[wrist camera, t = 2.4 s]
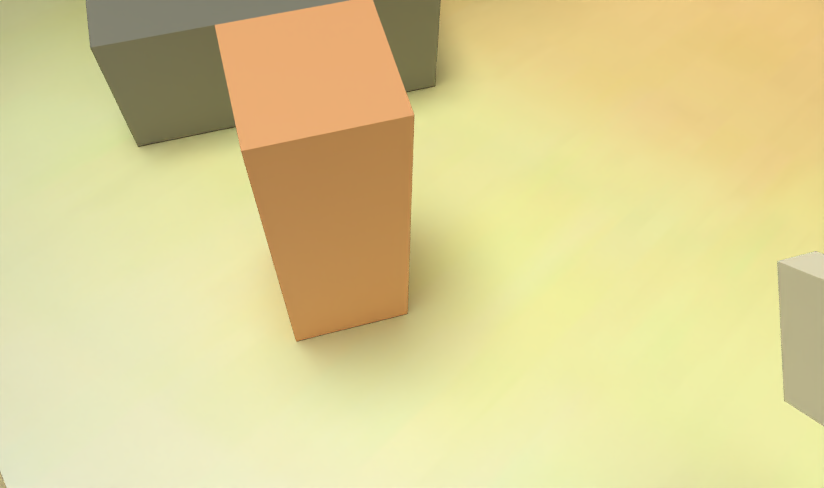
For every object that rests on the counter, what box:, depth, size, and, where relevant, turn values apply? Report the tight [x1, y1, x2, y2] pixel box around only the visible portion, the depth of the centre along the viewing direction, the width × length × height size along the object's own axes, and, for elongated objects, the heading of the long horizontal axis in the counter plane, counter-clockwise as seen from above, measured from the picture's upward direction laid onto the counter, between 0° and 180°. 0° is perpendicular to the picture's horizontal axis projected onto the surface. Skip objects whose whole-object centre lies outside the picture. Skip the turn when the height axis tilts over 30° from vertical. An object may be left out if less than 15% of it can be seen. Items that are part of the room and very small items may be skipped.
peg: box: [215, 0, 414, 341], centre depth 25 cm, size 4×4×12 cm
